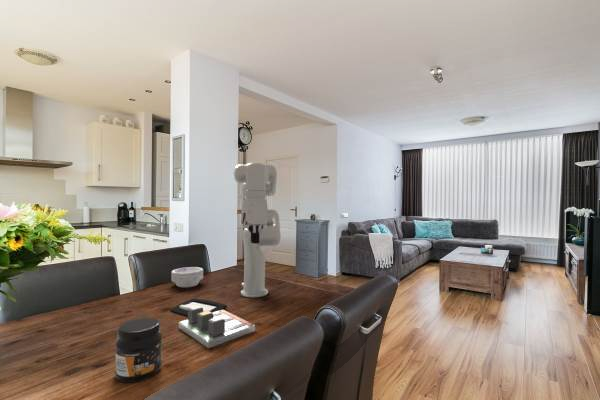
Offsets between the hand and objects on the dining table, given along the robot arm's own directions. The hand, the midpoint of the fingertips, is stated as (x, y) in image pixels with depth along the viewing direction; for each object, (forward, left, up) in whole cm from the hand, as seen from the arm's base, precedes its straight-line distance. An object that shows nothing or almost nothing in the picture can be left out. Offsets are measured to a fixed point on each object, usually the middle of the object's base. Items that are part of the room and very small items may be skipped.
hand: (255, 242), depth 117 cm
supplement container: (+12, -45, -27) cm, 54 cm away
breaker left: (-4, -22, -25) cm, 33 cm away
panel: (+3, -18, -27) cm, 33 cm away
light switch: (-18, -14, -28) cm, 36 cm away
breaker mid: (+3, -22, -25) cm, 33 cm away
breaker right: (+10, -22, -25) cm, 35 cm away
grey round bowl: (-55, -1, -27) cm, 61 cm away
